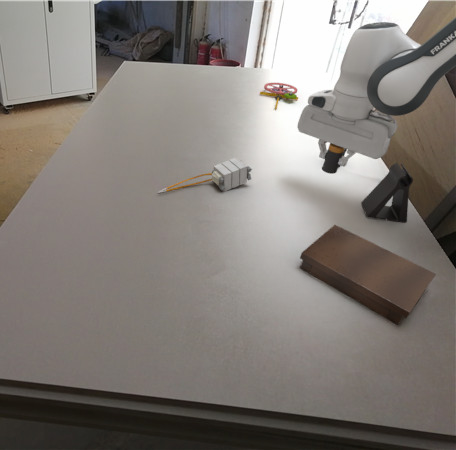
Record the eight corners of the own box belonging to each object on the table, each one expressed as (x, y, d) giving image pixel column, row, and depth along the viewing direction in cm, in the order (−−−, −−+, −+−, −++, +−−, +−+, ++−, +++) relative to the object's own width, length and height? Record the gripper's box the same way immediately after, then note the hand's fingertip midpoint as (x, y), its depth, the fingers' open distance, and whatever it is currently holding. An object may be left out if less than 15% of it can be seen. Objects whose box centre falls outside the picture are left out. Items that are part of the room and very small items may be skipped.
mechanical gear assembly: (298, 88, 171) (262, 84, 174) (301, 78, 168) (264, 74, 172) (296, 113, 148) (255, 108, 151) (299, 101, 145) (257, 97, 149)
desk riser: (426, 288, 77) (436, 273, 75) (399, 328, 69) (409, 312, 67) (329, 238, 88) (334, 224, 86) (296, 267, 80) (301, 252, 78)
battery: (339, 170, 97) (348, 144, 93) (332, 175, 95) (341, 148, 91) (325, 165, 99) (334, 139, 95) (319, 169, 97) (327, 143, 93)
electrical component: (168, 215, 98) (166, 199, 94) (157, 202, 102) (155, 186, 98) (251, 181, 103) (252, 165, 100) (238, 170, 108) (238, 154, 104)
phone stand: (398, 208, 100) (419, 165, 93) (406, 222, 95) (429, 178, 88) (360, 203, 101) (379, 160, 93) (366, 217, 96) (386, 173, 89)
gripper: (406, 115, 84) (381, 173, 92) (315, 89, 95) (301, 143, 103) (394, 122, 80) (369, 182, 88) (302, 94, 91) (287, 150, 100)
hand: (332, 161), depth 96 cm, fingers closed on battery, 3 cm apart
